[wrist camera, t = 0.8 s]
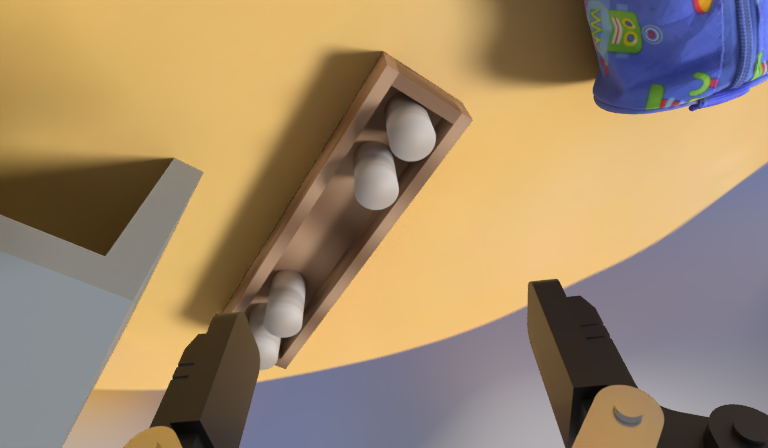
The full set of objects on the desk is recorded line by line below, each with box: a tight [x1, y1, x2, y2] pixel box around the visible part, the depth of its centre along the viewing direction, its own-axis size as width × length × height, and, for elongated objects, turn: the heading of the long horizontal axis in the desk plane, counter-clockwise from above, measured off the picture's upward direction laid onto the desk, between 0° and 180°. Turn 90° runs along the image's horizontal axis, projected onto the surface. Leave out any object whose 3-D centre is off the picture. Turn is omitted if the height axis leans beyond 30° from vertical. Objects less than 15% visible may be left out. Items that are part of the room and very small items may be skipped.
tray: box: [222, 51, 473, 370], centre depth 34 cm, size 24×6×5 cm, turn 147°
